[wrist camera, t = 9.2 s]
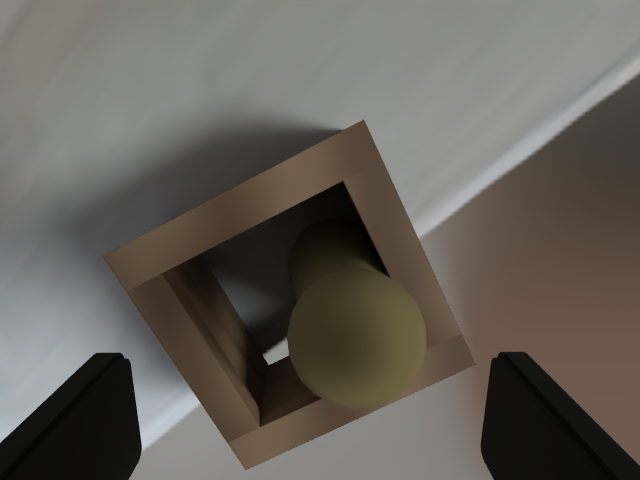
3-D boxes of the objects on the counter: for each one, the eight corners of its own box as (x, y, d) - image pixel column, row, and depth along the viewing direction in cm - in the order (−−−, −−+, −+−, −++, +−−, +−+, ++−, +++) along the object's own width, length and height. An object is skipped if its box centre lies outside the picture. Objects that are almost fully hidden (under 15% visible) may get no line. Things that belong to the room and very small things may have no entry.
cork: (394, 298, 24) (465, 415, 13) (302, 321, 24) (298, 455, 13) (374, 206, 23) (434, 254, 12) (276, 231, 23) (249, 300, 12)
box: (346, 130, 22) (363, 119, 15) (428, 304, 24) (475, 364, 17) (164, 224, 22) (102, 255, 16) (262, 383, 25) (245, 470, 18)
